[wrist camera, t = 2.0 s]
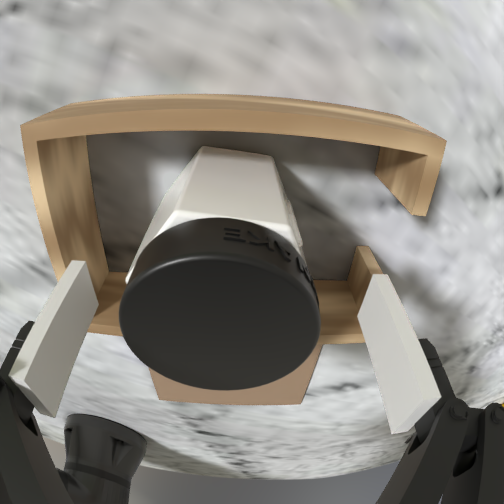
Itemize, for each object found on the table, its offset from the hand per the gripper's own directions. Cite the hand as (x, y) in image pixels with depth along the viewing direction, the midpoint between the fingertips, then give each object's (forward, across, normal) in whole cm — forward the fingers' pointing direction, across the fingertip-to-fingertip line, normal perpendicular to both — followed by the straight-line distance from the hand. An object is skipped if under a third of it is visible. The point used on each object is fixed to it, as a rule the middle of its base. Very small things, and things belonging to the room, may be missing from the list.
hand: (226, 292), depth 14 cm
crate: (+9, 0, 0) cm, 9 cm away
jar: (+10, 0, 0) cm, 10 cm away
